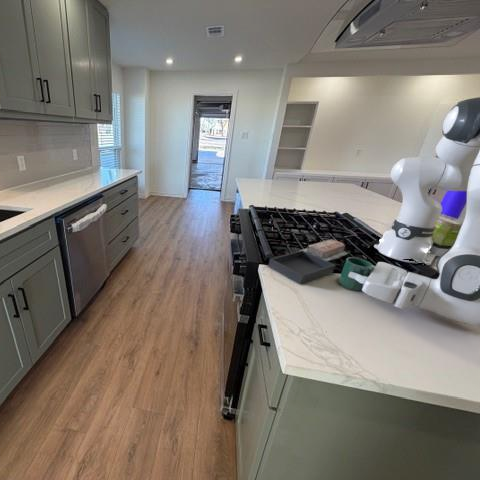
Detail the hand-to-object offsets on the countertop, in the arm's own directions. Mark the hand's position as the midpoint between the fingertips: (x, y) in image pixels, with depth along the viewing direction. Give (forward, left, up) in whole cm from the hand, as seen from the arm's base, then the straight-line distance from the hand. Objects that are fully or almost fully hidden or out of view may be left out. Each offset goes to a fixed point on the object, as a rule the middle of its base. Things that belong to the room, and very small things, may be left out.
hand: (352, 269), depth 82 cm
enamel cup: (0, +1, -6) cm, 6 cm away
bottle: (-99, -8, -6) cm, 100 cm away
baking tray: (+6, -13, -6) cm, 15 cm away
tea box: (-65, 0, -6) cm, 65 cm away
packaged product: (-14, -17, -6) cm, 23 cm away
